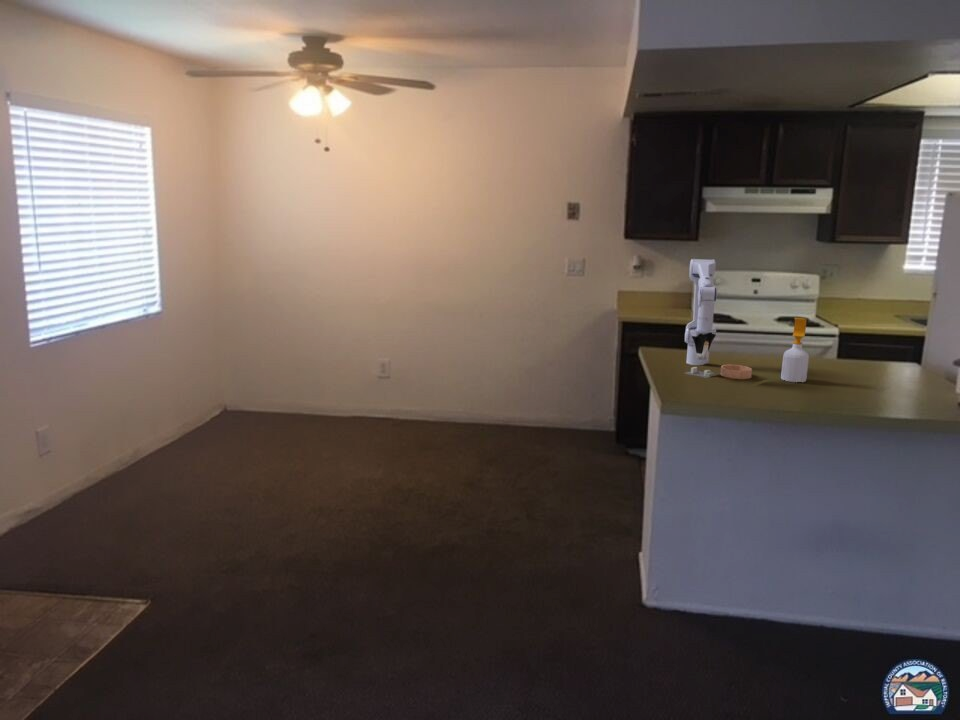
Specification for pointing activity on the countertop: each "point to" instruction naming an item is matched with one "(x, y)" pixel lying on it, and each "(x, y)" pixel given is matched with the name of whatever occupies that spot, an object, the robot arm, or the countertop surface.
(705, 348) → the battery cell
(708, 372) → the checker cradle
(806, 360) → the soap bottle
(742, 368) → the cup
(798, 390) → the countertop surface
